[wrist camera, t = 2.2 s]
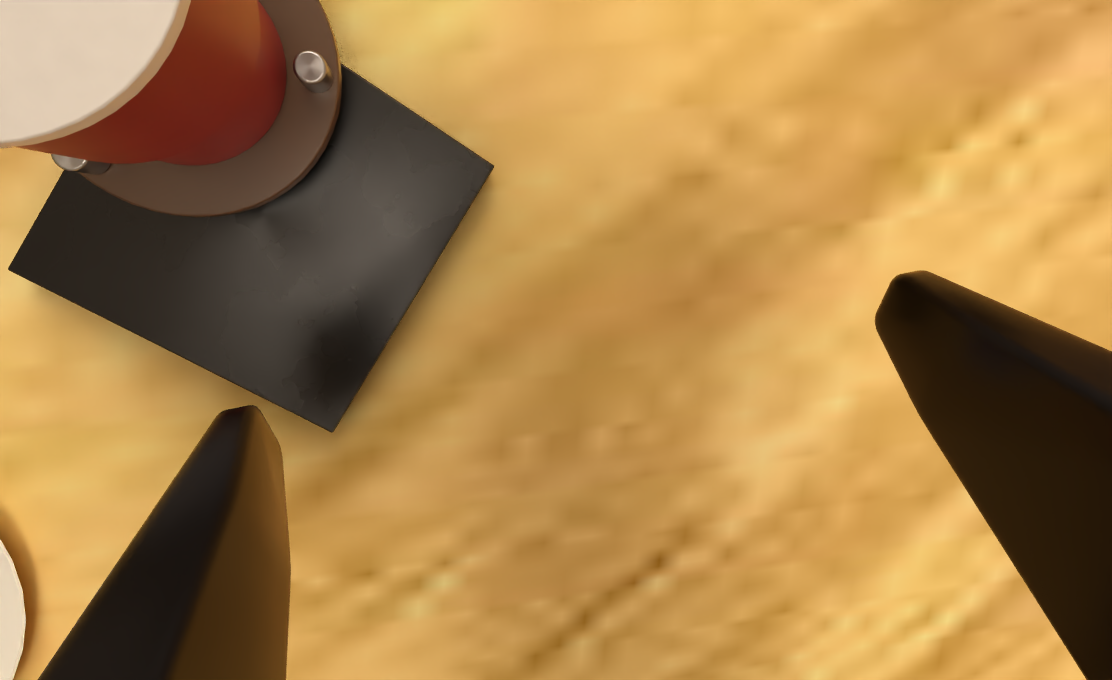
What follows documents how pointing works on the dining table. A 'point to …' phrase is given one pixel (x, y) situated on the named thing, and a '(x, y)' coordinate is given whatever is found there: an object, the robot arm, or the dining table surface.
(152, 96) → the red cup with lid
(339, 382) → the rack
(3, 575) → the pudding
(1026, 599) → the dining table surface
